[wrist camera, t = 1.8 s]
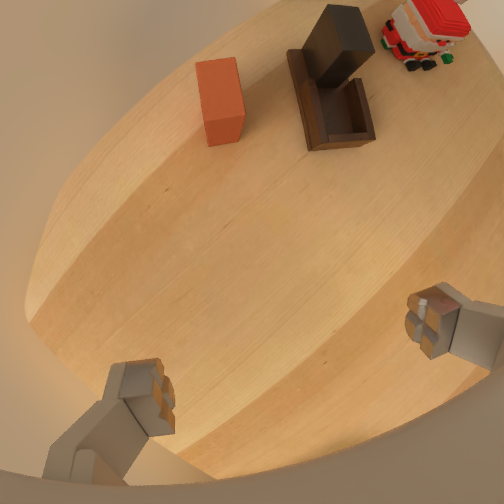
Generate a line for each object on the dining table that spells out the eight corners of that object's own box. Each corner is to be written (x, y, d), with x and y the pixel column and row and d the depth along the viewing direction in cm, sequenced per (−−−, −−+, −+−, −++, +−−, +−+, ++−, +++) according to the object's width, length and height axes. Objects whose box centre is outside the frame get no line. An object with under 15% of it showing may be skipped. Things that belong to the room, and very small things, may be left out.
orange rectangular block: (208, 147, 29) (204, 121, 20) (201, 101, 28) (194, 62, 19) (238, 141, 29) (246, 115, 20) (230, 96, 28) (235, 56, 19)
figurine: (395, 72, 29) (453, 33, 18) (371, 26, 28) (418, -23, 17) (439, 69, 30) (497, 40, 18) (418, 27, 29) (467, -11, 17)
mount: (308, 151, 30) (346, 128, 20) (286, 53, 28) (310, 2, 18) (359, 146, 30) (411, 126, 20) (336, 52, 29) (373, 9, 19)
